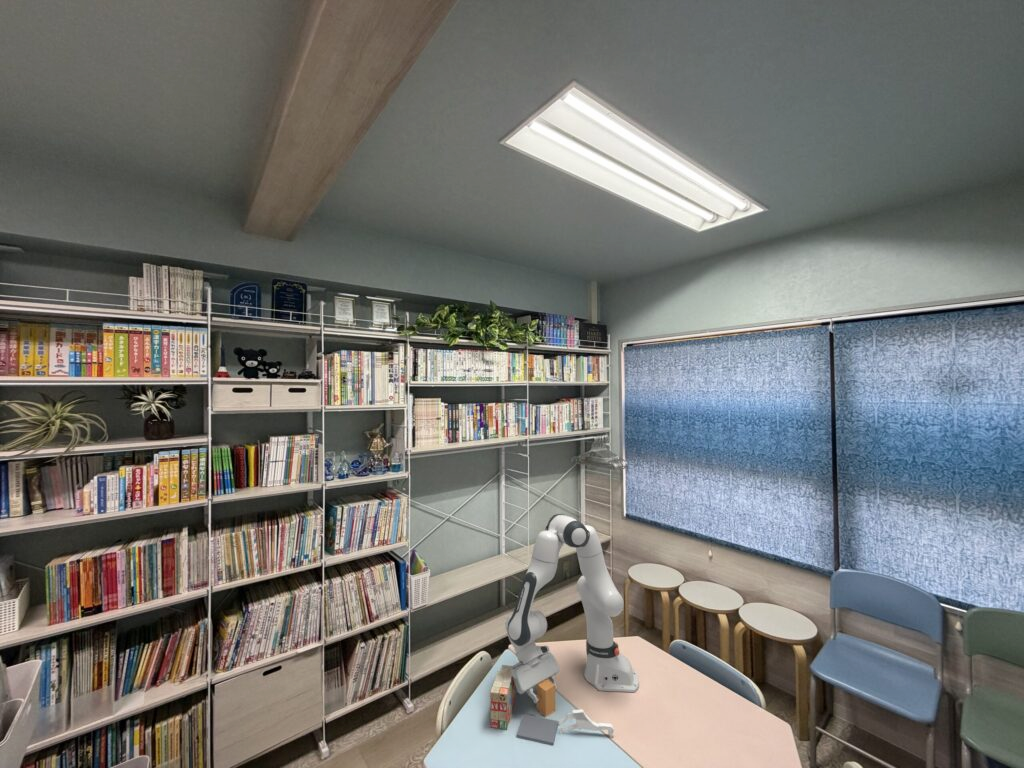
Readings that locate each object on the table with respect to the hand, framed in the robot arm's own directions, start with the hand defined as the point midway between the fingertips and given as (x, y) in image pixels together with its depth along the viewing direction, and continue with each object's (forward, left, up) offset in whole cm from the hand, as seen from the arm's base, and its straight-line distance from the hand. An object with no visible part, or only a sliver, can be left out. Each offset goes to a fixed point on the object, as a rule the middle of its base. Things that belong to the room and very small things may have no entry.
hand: (546, 696), depth 149 cm
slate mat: (+1, +10, -5) cm, 11 cm away
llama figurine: (-15, +7, -5) cm, 18 cm away
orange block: (0, 0, -5) cm, 5 cm away
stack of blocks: (+16, +3, -5) cm, 17 cm away
